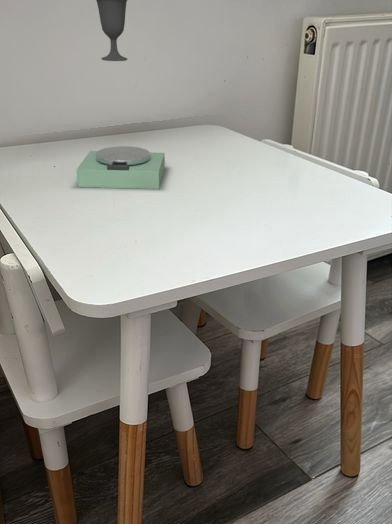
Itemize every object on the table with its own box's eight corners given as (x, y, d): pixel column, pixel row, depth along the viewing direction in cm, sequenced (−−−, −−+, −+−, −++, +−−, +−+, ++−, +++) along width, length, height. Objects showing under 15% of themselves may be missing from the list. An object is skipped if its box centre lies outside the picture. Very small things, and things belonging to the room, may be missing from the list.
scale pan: (91, 164, 96) (90, 159, 95) (101, 149, 104) (100, 145, 103) (147, 166, 96) (146, 161, 95) (152, 151, 103) (152, 146, 103)
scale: (78, 187, 96) (75, 165, 94) (91, 166, 106) (89, 147, 104) (159, 189, 96) (158, 168, 94) (164, 168, 106) (164, 149, 104)
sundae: (135, 58, 108) (133, -36, 99) (126, 62, 102) (123, -37, 94) (102, 56, 109) (97, -37, 100) (92, 60, 103) (85, -39, 95)
